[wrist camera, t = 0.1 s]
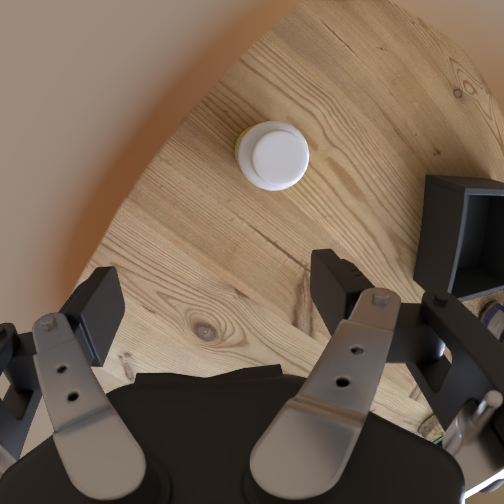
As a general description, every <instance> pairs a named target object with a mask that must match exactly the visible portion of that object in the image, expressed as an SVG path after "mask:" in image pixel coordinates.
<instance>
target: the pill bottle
mask: <svg viewBox="0 0 504 504" xmlns="http://www.w3.org/2000/svg"><path fill="white" fill-rule="evenodd" d="M479 320H480V321H481V322H482V323H483V324H484V325H485V326H486V328H487V329H488V330H489V331H490V332H491V333H492V334H493V335H494V336H495V337H496V338H497V339H498V340H499V341H500V342H501V343H502V344H503V345H504V307H503V306H502V305H501V304H500V303H498V302H497V301H491V302H489V303H488V304H487V305H486V306H485V307H484V309H483V310H482V312H481V314H480V316H479Z"/></svg>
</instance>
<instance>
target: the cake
mask: <svg viewBox="0 0 504 504" xmlns="http://www.w3.org/2000/svg"><path fill="white" fill-rule="evenodd" d="M418 431H419V433H420V434H422V437H424V439H426V440H432V439H435V438H438V437H439V436H441V435H442V434H443V435H444V433H445V432H444V430H443V428H442V426H441V425H440V423H439V421H438V419H437V417H436V416H435V414H434V415H432V416H431V417H430V418H428V419H427V420H426V421H425V422H424V423H423V424H422V425H421V427H420V428H419V430H418Z"/></svg>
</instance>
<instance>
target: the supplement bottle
mask: <svg viewBox="0 0 504 504" xmlns="http://www.w3.org/2000/svg"><path fill="white" fill-rule="evenodd" d="M234 155H235V159H236V162H237V164H238V166H239V167H240V169H241V171H242V172H243V174H244V175H245V177H246V178H247V179H248V180H249V181H250V182H251V183H253V184H254V185H256V186H257V187H260V188H262V189H266V190H282V189H285V188H288V187H290V186H292V185H293V184H295V183H296V182H297V181H298V180H299V179H300V178H301V177H302V176H303V174H304V173H305V171H306V169H307V166H308V162H309V149H308V145H307V143H306V140H305V138H304V137H303V135H302V134H301V133H300V132H299V131H298V130H297V129H296V128H295V127H293V126H292V125H290V124H287V123H285V122H281V121H266V122H262V123H259V124H255V125H252V126H250V127H248V128H246V129H245V130H244V131H243V132H242V133H241V134H240V135H239V136H238V138H237V140H236V143H235V147H234Z"/></svg>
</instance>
